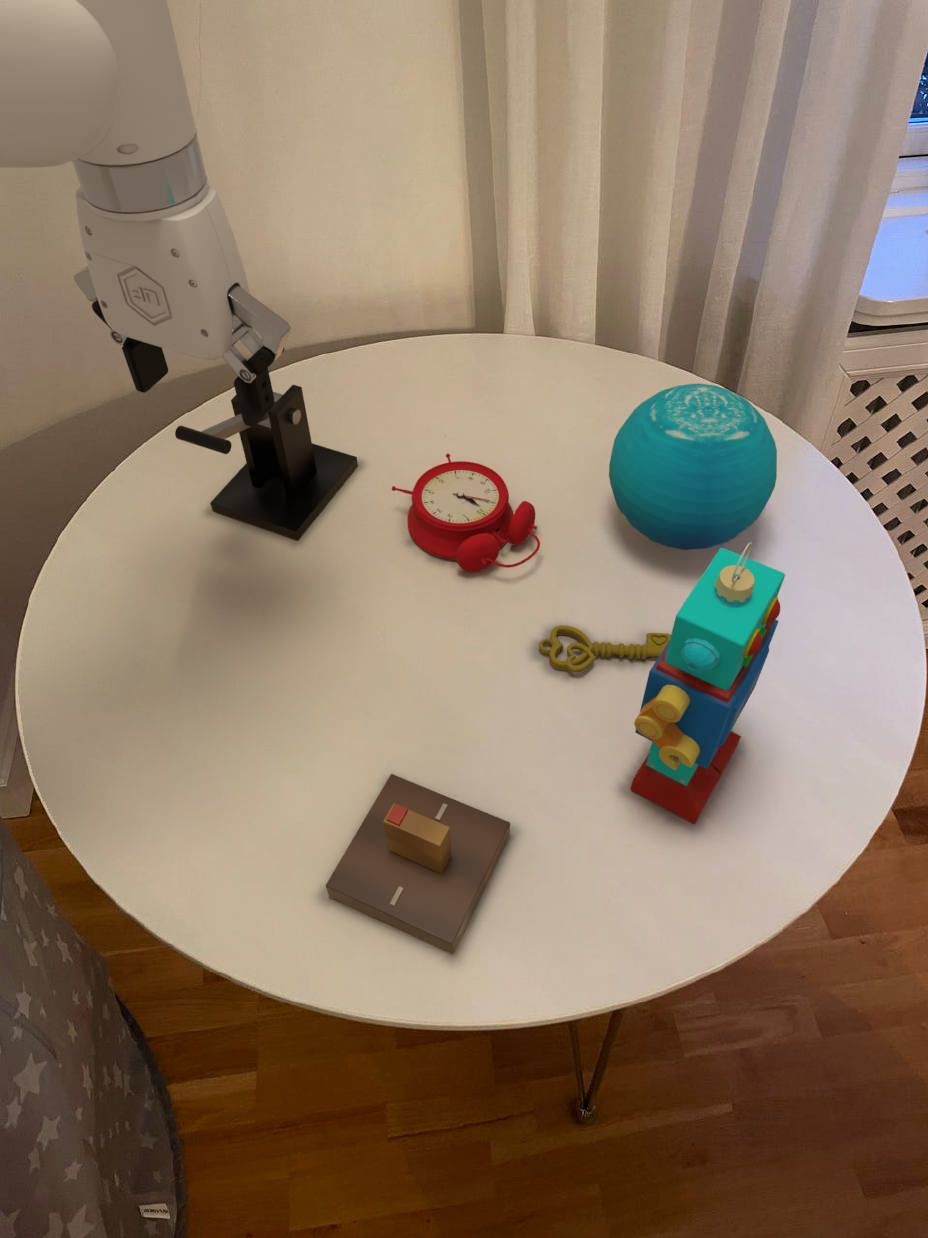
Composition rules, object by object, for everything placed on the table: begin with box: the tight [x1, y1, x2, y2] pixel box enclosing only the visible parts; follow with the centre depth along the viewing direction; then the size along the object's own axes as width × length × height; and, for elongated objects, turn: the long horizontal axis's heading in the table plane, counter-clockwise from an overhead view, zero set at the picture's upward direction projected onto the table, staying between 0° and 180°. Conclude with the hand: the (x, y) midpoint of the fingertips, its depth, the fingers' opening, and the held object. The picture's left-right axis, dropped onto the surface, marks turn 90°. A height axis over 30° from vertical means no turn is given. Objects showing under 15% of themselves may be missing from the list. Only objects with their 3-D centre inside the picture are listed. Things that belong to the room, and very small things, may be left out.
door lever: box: [174, 391, 284, 455], centre depth 84 cm, size 12×5×2 cm, turn 155°
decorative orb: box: [608, 383, 778, 551], centre depth 85 cm, size 15×15×15 cm
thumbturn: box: [383, 803, 451, 874], centre depth 66 cm, size 4×2×5 cm, turn 64°
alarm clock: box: [391, 453, 541, 573], centre depth 89 cm, size 10×6×15 cm
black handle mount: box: [209, 384, 359, 541], centre depth 91 cm, size 12×10×12 cm
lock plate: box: [325, 773, 511, 955], centre depth 68 cm, size 10×10×2 cm
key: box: [538, 625, 671, 673], centre depth 81 cm, size 12×1×5 cm
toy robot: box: [629, 541, 786, 825], centre depth 64 cm, size 12×6×25 cm, turn 147°
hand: (205, 398), depth 70 cm, fingers open, 9 cm apart
